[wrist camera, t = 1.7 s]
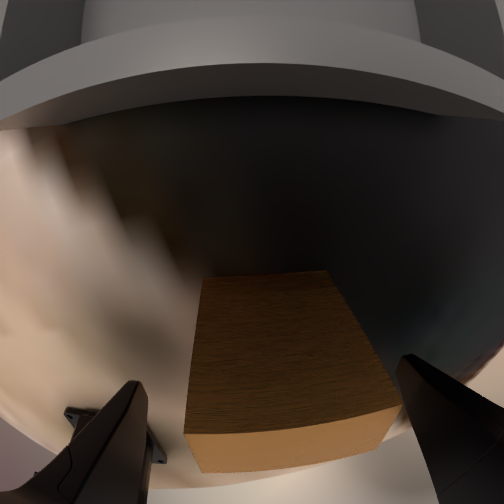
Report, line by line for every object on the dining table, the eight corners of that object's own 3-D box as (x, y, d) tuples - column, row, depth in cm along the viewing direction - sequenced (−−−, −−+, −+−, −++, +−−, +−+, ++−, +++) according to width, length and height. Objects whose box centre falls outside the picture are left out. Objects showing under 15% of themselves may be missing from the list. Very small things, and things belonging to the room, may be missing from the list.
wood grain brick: (313, 369, 14) (349, 486, 8) (218, 378, 14) (218, 502, 8) (325, 269, 12) (403, 404, 5) (203, 277, 11) (183, 434, 5)
